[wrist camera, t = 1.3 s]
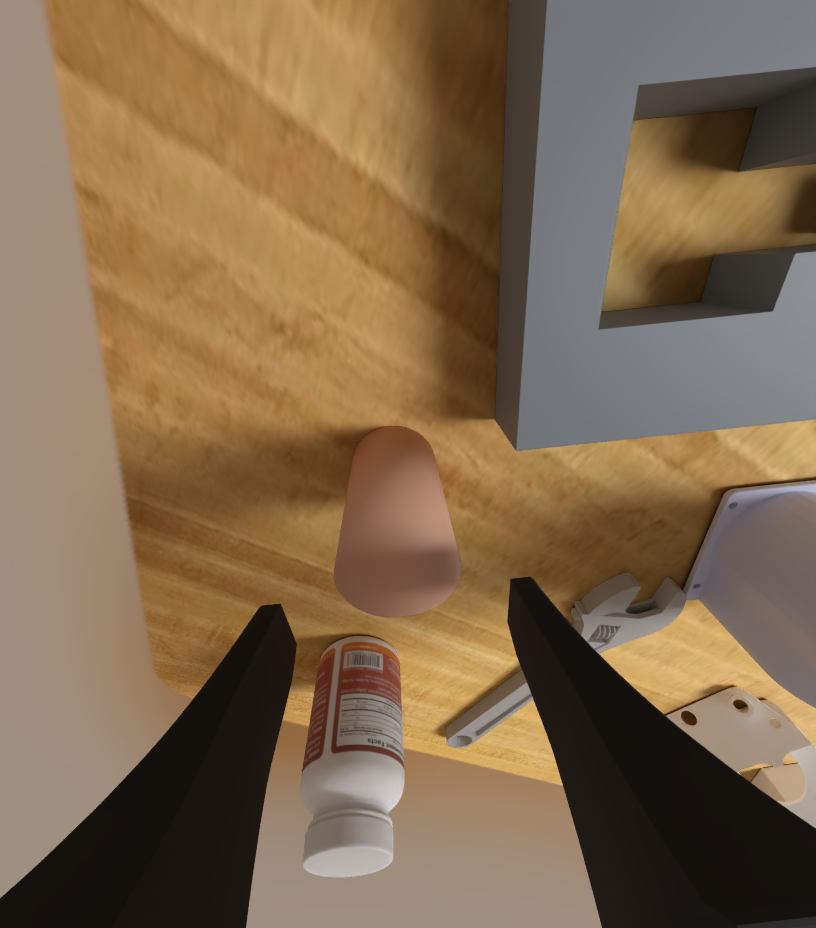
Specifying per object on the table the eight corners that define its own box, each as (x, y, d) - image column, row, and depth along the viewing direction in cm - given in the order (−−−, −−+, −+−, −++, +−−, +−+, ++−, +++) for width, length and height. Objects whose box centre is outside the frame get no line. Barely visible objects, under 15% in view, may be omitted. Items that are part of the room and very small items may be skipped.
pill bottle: (347, 688, 30) (329, 889, 20) (304, 649, 27) (259, 862, 18) (413, 664, 29) (427, 866, 19) (375, 622, 26) (370, 833, 16)
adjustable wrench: (460, 732, 36) (463, 753, 34) (409, 714, 34) (410, 736, 32) (682, 589, 27) (700, 609, 25) (631, 552, 25) (647, 571, 23)
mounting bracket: (641, 721, 40) (729, 855, 33) (631, 732, 36) (730, 889, 29) (750, 673, 36) (874, 813, 29) (754, 678, 32) (901, 844, 25)
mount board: (800, 387, 19) (881, 412, 16) (495, 419, 19) (516, 451, 16) (1044, -132, 11) (1304, -287, 8) (511, -78, 11) (561, -212, 8)
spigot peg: (436, 493, 21) (462, 610, 14) (359, 501, 21) (346, 623, 14) (432, 421, 19) (460, 518, 12) (345, 430, 19) (321, 533, 12)
